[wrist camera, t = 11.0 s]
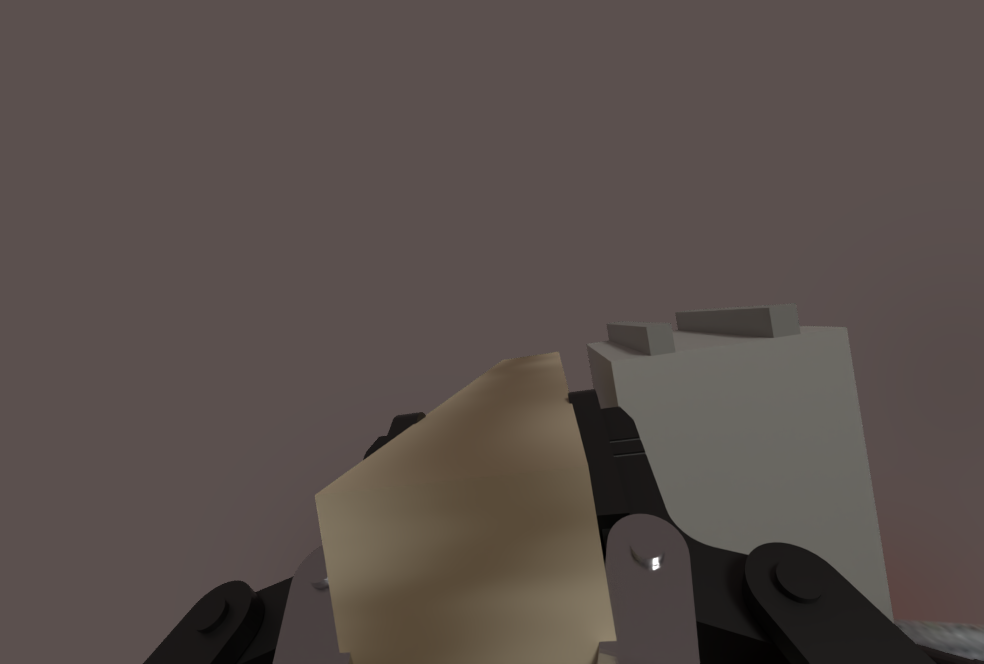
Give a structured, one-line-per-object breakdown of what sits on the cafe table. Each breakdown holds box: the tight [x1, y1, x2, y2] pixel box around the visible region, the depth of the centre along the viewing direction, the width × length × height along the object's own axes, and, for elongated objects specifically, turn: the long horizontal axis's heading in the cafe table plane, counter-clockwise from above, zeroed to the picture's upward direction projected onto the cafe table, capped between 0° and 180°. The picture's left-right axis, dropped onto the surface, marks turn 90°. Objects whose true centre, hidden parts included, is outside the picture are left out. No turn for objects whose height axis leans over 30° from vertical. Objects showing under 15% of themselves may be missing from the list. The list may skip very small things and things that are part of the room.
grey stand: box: [587, 303, 894, 623], centre depth 27 cm, size 11×15×34 cm
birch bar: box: [315, 352, 617, 664], centre depth 17 cm, size 4×23×4 cm, turn 172°
